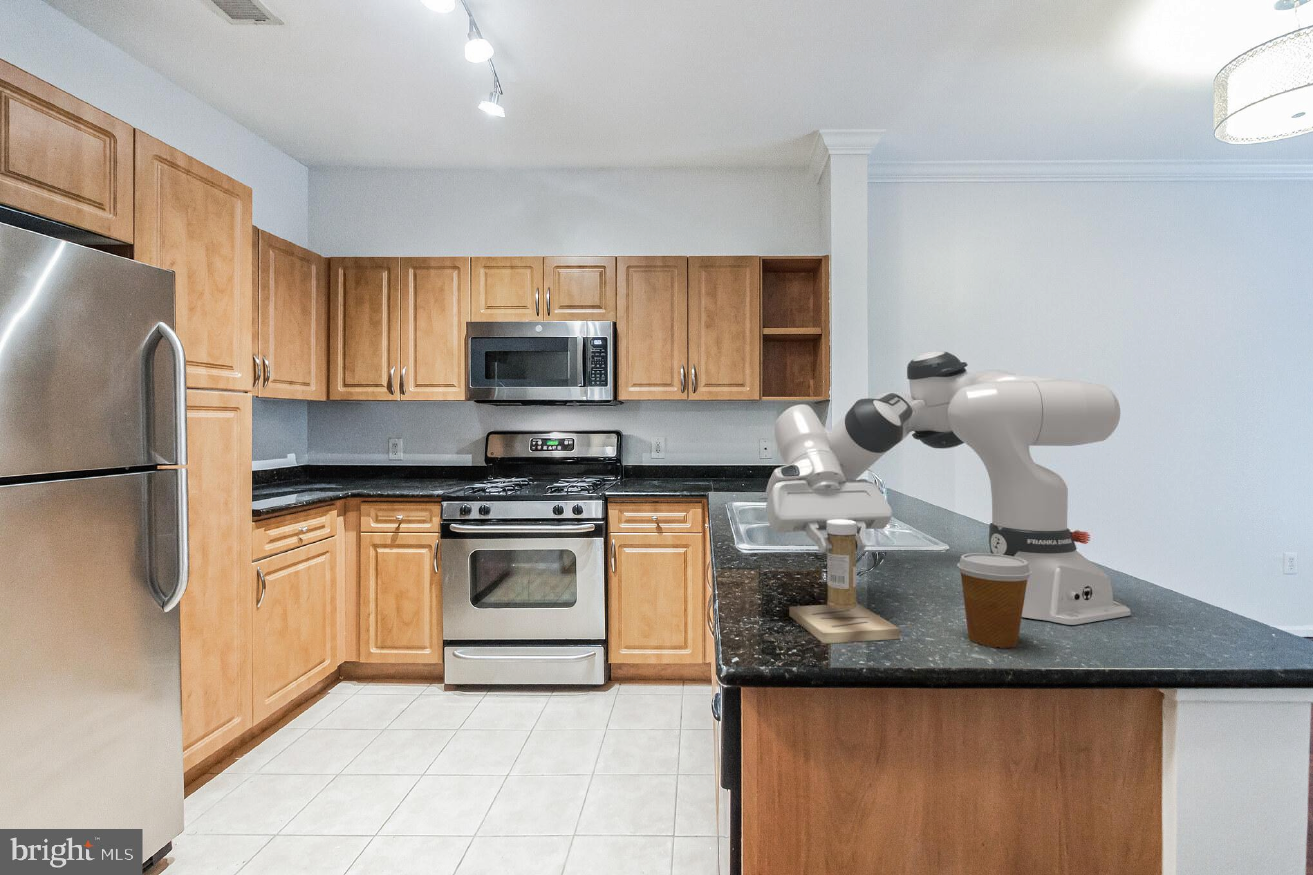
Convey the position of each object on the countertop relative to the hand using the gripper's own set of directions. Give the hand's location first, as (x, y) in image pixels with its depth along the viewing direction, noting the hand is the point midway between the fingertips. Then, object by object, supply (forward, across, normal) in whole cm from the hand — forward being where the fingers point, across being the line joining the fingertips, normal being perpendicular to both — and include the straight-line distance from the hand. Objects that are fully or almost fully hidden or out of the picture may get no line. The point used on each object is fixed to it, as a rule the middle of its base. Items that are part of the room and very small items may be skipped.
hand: (843, 549), depth 95 cm
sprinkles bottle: (+6, 0, -7) cm, 9 cm away
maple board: (+8, 0, -9) cm, 12 cm away
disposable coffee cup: (+15, -19, -3) cm, 24 cm away
